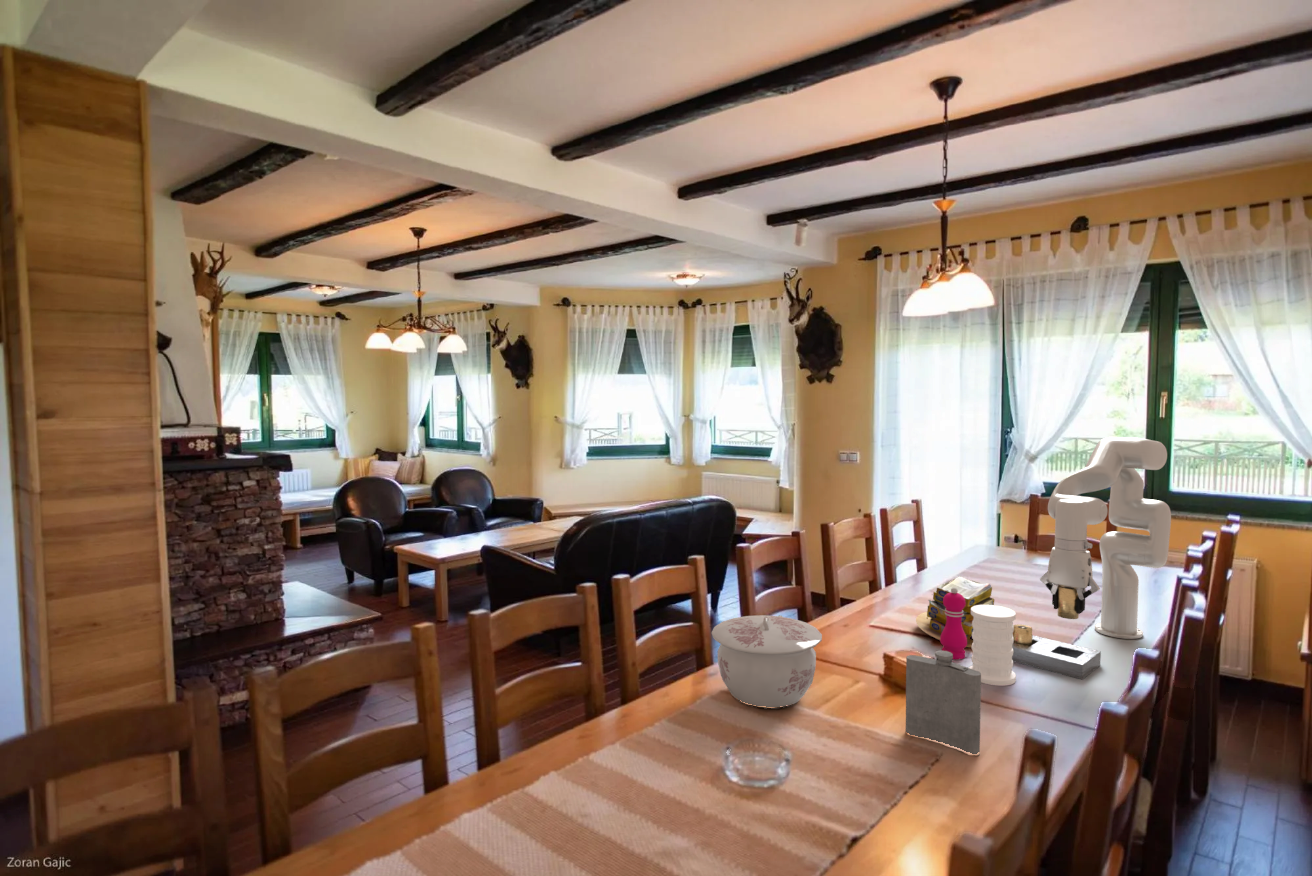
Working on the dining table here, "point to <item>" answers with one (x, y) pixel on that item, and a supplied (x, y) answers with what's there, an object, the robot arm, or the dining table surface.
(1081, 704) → the dining table surface
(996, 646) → the decorative container
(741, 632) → the chamber pot
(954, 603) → the pepper mill
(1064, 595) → the bushing
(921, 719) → the hip flask
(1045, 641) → the jig
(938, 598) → the stacked packages on plate
